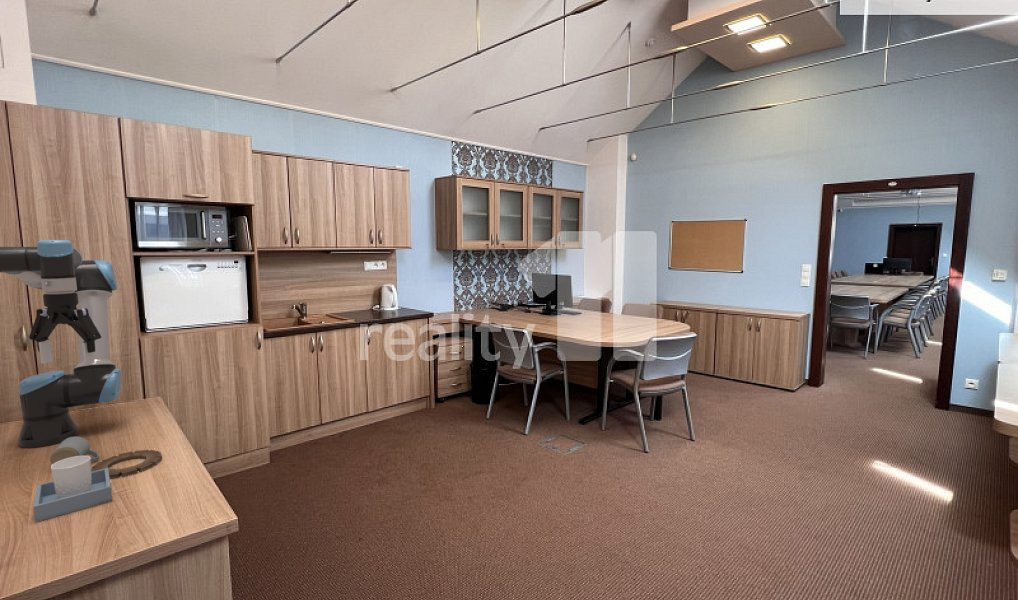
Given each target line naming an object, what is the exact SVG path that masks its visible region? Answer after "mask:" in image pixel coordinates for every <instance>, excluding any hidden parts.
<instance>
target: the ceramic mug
mask: <svg viewBox="0 0 1018 600" xmlns="http://www.w3.org/2000/svg"><path fill="white" fill-rule="evenodd" d="M54 449H55V450H53V452H52V453H51V455H50V462H51V463H50V464H51V465H52V464H54V463H56V462H58V461H60V460H63V459H66V458H70V457H75V456H93V458H91V464H92V463H96V462H97V461H98V460H99V457H100V453H99V452H98V451H96V450H93V449H91V444H90V442H89V440H87V439H86V438H84V437H81V436H75V437H69V438H67V439H65V440H64V441H62V442H60V443H59V445H58V446H57V447H56V448H54Z"/></svg>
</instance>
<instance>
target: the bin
mask: <svg viewBox="0 0 1018 600" xmlns="http://www.w3.org/2000/svg"><path fill="white" fill-rule="evenodd" d="M91 476H92V477H91V478H92V483H91V490H92V491H88V492H84V493H80V494H77V495H73V496H69V497H65V498H61V499H58V498H57V493H56V492H55V487H54V482H53V480H52V481H47V482H43V483H40V484H37V486H36V491H35V497H34V503H33V512H34V518H35V519H34V520H35V523H38V522H41V520H42V521H44V520H49V519H53V518H55V517H59V515H60V516H62V515H66V514H70V513H74V512H76V511H81V510H84V509H83V508H85V509H88V508H87V507H89V508H91V506H92V507H96V506H98V505H103V504H106V503H110V502H113V497H112V487H111V481H110V480H111V479H109V471H108V468H105V469H101V470H97V471H92V472H91ZM95 505H96V506H95ZM37 521H38V522H37Z"/></svg>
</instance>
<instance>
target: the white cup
mask: <svg viewBox="0 0 1018 600" xmlns="http://www.w3.org/2000/svg"><path fill="white" fill-rule="evenodd" d="M91 459H92V458H91V455H86V456H75V457H70V458H66V459H63V460H60V461H58V462H56V463H54V464H52V463H51V466H50V469H51V471H50V472H51V476H52V481H53V482H54V487H55V492H56V493H57V498H58V499H61V498H65V497H69V496H73V495H77V494H80V493H84V492H88V491H92V490H91V483H92V478H91V477H92V476H91V468H92V463H91Z"/></svg>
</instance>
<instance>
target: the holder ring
mask: <svg viewBox="0 0 1018 600" xmlns="http://www.w3.org/2000/svg"><path fill="white" fill-rule="evenodd" d="M138 458H140V459H141V460H143V461H142V462H140V463H137V464H135V465H132V466H127V467H123V468H114V469H113V468H111V467H112V466H115V465H117V464H119V463H122V462H125V461H129V460H139V459H138ZM162 460H163V456H162V453H161V451H160V450H154V449H150V450H149V449H140V450H135V451H128V452H123V453H119V454H118V455H112V456H110V457H107V458H105V459H102V460H101V461H98V462H97V463H96V464H94V465H93V466H91V472H92V471H97V470H101V469H105V468H108V471H109V479H110V480H111V479H119V478H120V477H121V478H126V477H128V475H129V476H132V474H133V475H136V473H137V474H138V471H139V473H142V471H143V472H144V471H147V470H149V468H150V469H152V468H154V466H155V465H156V466H157V465H158V464H159V463H160V462H161V461H162ZM125 476H126V477H125Z"/></svg>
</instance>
